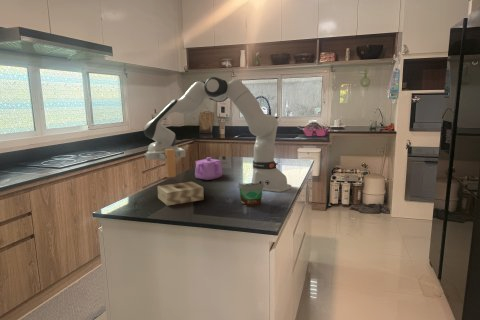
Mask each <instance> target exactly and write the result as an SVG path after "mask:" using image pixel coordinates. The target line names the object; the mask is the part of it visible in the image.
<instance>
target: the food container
mask: <svg viewBox="0 0 480 320" xmlns="http://www.w3.org/2000/svg"><path fill="white" fill-rule="evenodd" d="M237 188H239V197H240V204H241V205H242V206H244V205H246V207H257V205H258V206H260V205H261V204H262V197H263V190H262V189H263V188H264V183H263V181H262V183H257V184H256V183H251V182H249V183H246V184H245V183H244V184H243V183H240V182H238V185H237Z"/></svg>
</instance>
